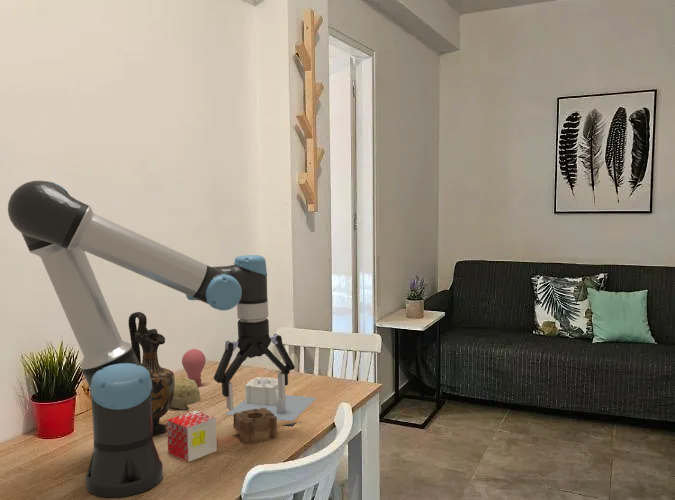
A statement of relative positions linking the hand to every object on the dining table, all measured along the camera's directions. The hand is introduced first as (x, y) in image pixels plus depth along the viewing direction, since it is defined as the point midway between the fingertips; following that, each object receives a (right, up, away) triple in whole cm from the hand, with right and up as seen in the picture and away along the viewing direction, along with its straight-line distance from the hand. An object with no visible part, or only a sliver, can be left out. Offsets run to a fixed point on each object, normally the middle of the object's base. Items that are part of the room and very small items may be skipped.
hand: (256, 403), depth 153 cm
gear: (-1, -4, +23) cm, 23 cm away
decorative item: (-24, -6, +23) cm, 34 cm away
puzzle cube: (-14, -9, -9) cm, 19 cm away
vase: (-27, -8, +5) cm, 29 cm away
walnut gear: (0, -8, +1) cm, 8 cm away
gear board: (+2, -6, +17) cm, 19 cm away
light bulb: (-24, -5, +39) cm, 46 cm away
